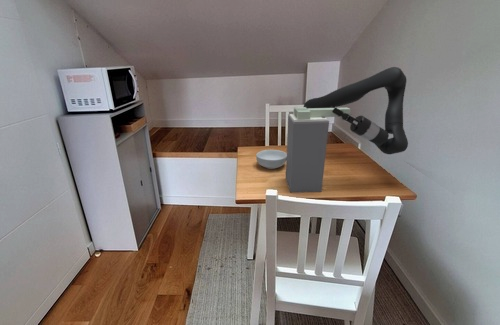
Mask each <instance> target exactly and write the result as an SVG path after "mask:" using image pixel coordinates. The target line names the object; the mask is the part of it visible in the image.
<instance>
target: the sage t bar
mask: <svg viewBox="0 0 500 325" xmlns="http://www.w3.org/2000/svg"><path fill="white" fill-rule="evenodd" d="M336 108H337V109H339V110H341V111H342V113H343V112H345V113H346V114H348V113H349V114H351V111H352V110H351V108H349V107H336ZM333 109H334V108H308V109H307V108H306V107H304V106H301V107H300V106H299V107H298V106H297V107H293V114H294V115H295V117H296V118H297V119H310V117H325V118H334V117H335V118H337V117H339V118H340V116H338V115H336V114H335V113H333V112H332V111H333Z"/></svg>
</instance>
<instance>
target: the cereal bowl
mask: <svg viewBox="0 0 500 325" xmlns="http://www.w3.org/2000/svg"><path fill="white" fill-rule="evenodd" d="M255 155H256V156H255V158H256V161H257V163H258V165H260V166H262V167H264V168H266V169H268V170H269V169H270V170H273V169H277V168H280V167H282V166H284V165H286V159H287V152H285V151H283V150H279V149H264V150H260V151H258V152H257V153H256V154H255Z"/></svg>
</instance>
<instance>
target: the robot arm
mask: <svg viewBox="0 0 500 325" xmlns="http://www.w3.org/2000/svg"><path fill="white" fill-rule="evenodd" d="M406 86H407V76H406V75H405V73H404V71H403V70H402V69H401V68H400V67H397V66H393V67H389V68H386V69H384V70H381V71H379V72H378V73H375V74H373V75H371V76H369V77H366V78H363V79H361V80H359V81H356V82H354V83H350V84H348V85H346V86H342V87H340V88H338V89H335V90H333V91H330V92H329V93H327V94H325V95H323V96H320V97H314V98H310V99H308V100H306V101H305V103H304V105H303V107H306V108H307V109H308V108H334V109H333V111H332V112H333V113H335V114H336V115H338V116H340V117H339V119H340V120H342V121H344V122H345V123H346V124H347V125H349V129H350V131H351V132H352V133H354V134H356V135H357V136H359V137H360V138H362V139H365V140H367V141H368V142H371V143H372V144H373V145H375V146H376V147H377V148H378V149H379V151H381V153H383V154H386V155H394V154H399V153H403V152H405V151H406V150H407V149H408V146H409V141H408V138H407V135H406V132H405V129H404V98H405V93H406V92H405V91H406ZM383 88H384V89H385V90H386V92H387V97H388V104H387V107H386V110H385V115H384V128H383V127H380V126H379V125H378V124H377V123H375V122H373V121H372V120H371V119H369V118H367V117H365V116H363V115H358V116H355V115H353V114H351V113H350V114H349V113H348V114H346V113H345V112H343V113H342V111H341V110H339V109H337V108H339V107H343V106H345V105H349V104H353V103H356V102H357V101H359V100H361V99H362V98H364V96H366V95H367V94H368V93H370V92H373V91H375V90H378V89H383ZM389 134H390V135H392V136H393V137H390V138H389Z"/></svg>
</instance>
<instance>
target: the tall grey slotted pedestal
mask: <svg viewBox="0 0 500 325" xmlns="http://www.w3.org/2000/svg"><path fill="white" fill-rule="evenodd" d="M329 126H330V121H329V119H328V117H310V119H297V118H296V117H295V115H294V113H293V114H292V113H290V114H287V137H286V139H287V140H286V154H287V159H286V162H285V166H286V168H285V181H286V184H287V187H288V190H289V193H296V194H297V193H322V191H323V182H324V172H325V163H326V157H327V156H326V155H327V144H328V136H329Z"/></svg>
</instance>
